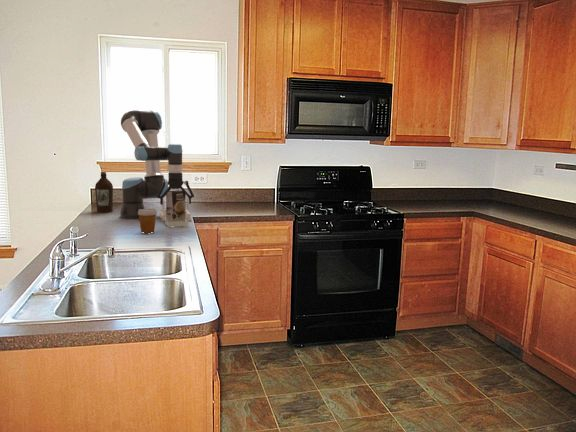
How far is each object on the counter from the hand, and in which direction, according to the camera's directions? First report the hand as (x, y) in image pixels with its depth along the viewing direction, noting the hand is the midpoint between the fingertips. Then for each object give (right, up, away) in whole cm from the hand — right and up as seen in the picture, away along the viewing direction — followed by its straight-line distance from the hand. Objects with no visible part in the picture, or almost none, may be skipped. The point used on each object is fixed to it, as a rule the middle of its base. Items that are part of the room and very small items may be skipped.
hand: (175, 210), depth 277 cm
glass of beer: (-10, -12, -21) cm, 26 cm away
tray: (0, -8, +1) cm, 8 cm away
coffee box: (0, -5, +1) cm, 5 cm away
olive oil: (-54, 0, +38) cm, 66 cm away
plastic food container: (-5, -5, +20) cm, 21 cm away
